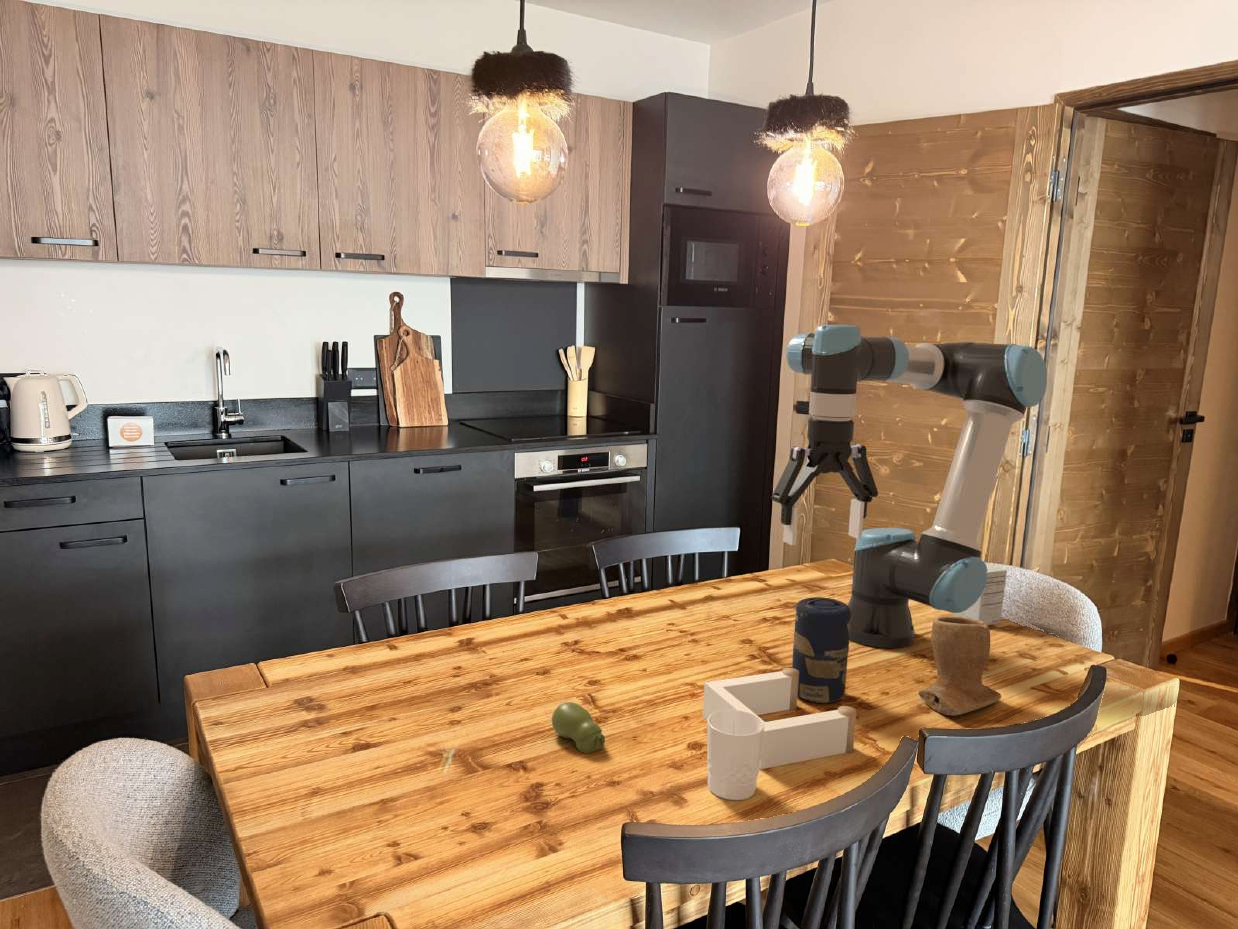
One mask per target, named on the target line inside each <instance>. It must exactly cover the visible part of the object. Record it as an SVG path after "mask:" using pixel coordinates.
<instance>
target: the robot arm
mask: <svg viewBox="0 0 1238 929" xmlns="http://www.w3.org/2000/svg"><path fill="white" fill-rule="evenodd" d="M861 332H862V331H861V328H860V327H859V326H858V325H848V324H847V325H846V324H820V325H818V326H817V327H816V329H815V330H814V332H813V333H812V332H808V333H798V334H796V335H795V336H793V337H792V338H791V339H790V341H789V343H788V344H787V348H786V356H785V358H786V361H787V365H788V367H789V368H790V369H791V370H792V371H793V372H795V373H799V374H804V375H807V376H808V375H811V377H810V378H811V379H810V380H811V381H810V392H809V407H808V413H809V415H810V416H811V417H810V418H809V419H808V420H807V434H806V435H807V436H806V438H807V439H808V445H807V447H806V448H804V447H803V448H802V447H798V446H792V447H791V448H790V455H789V459H788V461H787V464H786V466H785V467H784V470H783V472H782V474H781V476H780V478H779V480H778V482H777V485H776V486H775V489H774V491H773V493H772V495H771V501H773V502H775V503H778V504H780V505H781V512H780V524H782V525H783V533H782V534H783V536H782V541H783V543H786V544H788V545H790V546H796V543H797V533H798V532H797V531H798V530H797V529H798V515H799V514H798V513H799V507H798V506H797V505H796V506H795V504H796V503H797V502H798V501H799V499H800V498H801V497H802V495H803V494H804V493H805V491H806V490H807V489H808V488H809V486H810V485H811V483H812V482H813V481H814V479H815V478H817V477H818V476H819V475H821V474H828V473H829V474H830V473H834V474H835V473H836V474H837V473H839V474H840V476H841V478H842V479H843V481H844V482H845V484H846V485H847V488H849V490H850V491H851V492H852V493H851V494H853V496H854V497H855V498H852V499H850V506H849V507H850V510H849V523H848V524H849V525H848V536H849V537H852V538H854V539H856V543H855V548H854V549H853V552H854V557H853V567H852V568H853V570H852V585H851V596H850V599H849V601H848V604H847V606H848V607H849V608H850V610H851V623H850V638H849V641H852V642H854V643H856V644H857V643H858V644H860V645H863V646H868V647H874V648H881V649H882V648H883V649H885V648H886V649H897V648H903V647H907V646H910V645H912V644H913V642H914V639H915V628H914V625H913V618H912V614H911V610H910V605H909V600H910V601H914V602H917V603H918V604H919V603H920V604H921V605H922V604H923V605H925V606H927V607H931V608H932V609H934V610H938V611H944V612H948V613H952V614H954V613H960V612H963V611H965V610H967V609H969V608H970V607H971V606H973V605H974V604H975V603H976V601H977V600H978V599H979V597H980V596H981V594H982V592H983V590H984V588H985V585H986V582H987V576H988V575H987V574H986V572H987V566H986V564H985V563H986V562H985V561H983V559H982V558H981V555H982V554H983V553H982V552H983V549H982V547H981V546H980V544H979V542H978V537H979V534H980V530H981V528H982V525H983V521H984V518H985V514H986V511H987V508H988V505H989V502H990V498H991V496H992V493H993V488H994V486H995V482H996V480H997V475H998V473H999V469H1000V465H1001V464H1002V459H1003V457H1004V454H1005V451H1006V447H1007V444H1008V440H1009V437H1010V435H1011V431H1012V427H1013V425H1014V424H1016V423H1017V422H1019V421H1021V420H1023V419H1024V416H1025V413H1026V410H1027V408H1032V407H1036V406H1038V405H1039V404H1040V402H1041V401H1042V400H1043V398H1044V396H1045V394H1046V390H1047V385H1048V372H1047V367H1046V363H1045V359H1044V358H1043V356H1042V354H1041V353H1040V352H1039V351H1038V350H1037V349H1036V348H1034V347H1032V346H1028V345H1020V344H1016V343H1010V344H1009V343H1008V344H1007V343H1006V344H1005V343H988V342H987V343H986V342H985V343H984V342H971V341H968V342H967V341H964V342H961V341H960V342H947V343H946V342H945V343H931V342H922V343H917V344H916V345H914V346H913V345H906V344H905V343H904V342H903V341H902V340H901V339H900V338H896V337H890V336H863V335H862V334H861ZM861 335H862V336H861ZM877 381H879V382H887V383H888V382H890V383H899V384H908V385H909V386H910V387H912V388H913V389H915V390H921V391H928V392H933V393H937V394H940V395H944V396H948V397H952V398H957V399H962V403H961V404H962V406H963V408H964V409H965V411H966V417H965V419H964V423H963V427H962V430H961V432H960V436H959V438H958V439H959V440H958V442H957V446H956V447H955V448H956V449H955V452H954V455H953V457H952V458H953V459H952V462H951V465H950V468H949V470H948V475H947V477H946V481H945V484H944V488H943V491H942V493H941V497H940V500H939V504H938V506H937V510H936V513H935V516H934V520H933V523H932V526H931V527H930V528H928V529H926V530H924V531H922V532H921V534H920V537H919V541H915V540H916V538H917V536H916V533H915V532H914V531H913V530H911V529H907V528H901V527H900V528H897V527H876V528H867V529H864V530H863V526H864V525H863V524H864V520H865V519H866V517H867V512H868V511H867V510H868V503H871V502H872V501H873V498H876V497H877V496H879V491H878V488H877V485H876V481H875V479H874V477H873V473H872V470H871V468H870V465H869V462H868V459H867V447H866V445H863V444H860V443H853V444H852V445H851V442H853V439H854V428H855V422H854V420H853V419H852V418H854V417H855V416H856V403H857V389H858V388H857V387H858V382H877ZM850 457H851V459H852V462H853V465H854V468H855V471H856V474H857V475H856V474H855V472H854V468H853V467H852V465H851V463H850V462H849V458H850ZM807 459H808V460H807ZM806 460H807V461H806ZM804 461H806V462H804Z"/></svg>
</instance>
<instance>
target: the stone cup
mask: <svg viewBox="0 0 1238 929" xmlns="http://www.w3.org/2000/svg"><path fill="white" fill-rule="evenodd" d="M930 642H931V646H932V647H931V648H932V652H933V656H934V659H935V660H934V662H935V667H936V673H937V675H936V681H935V682H934V683H933V684H930V685H929V686H927V687H924V688H923V689H920V690H918V692H917V694H918V695H919V697H921V699H922V700H923V702H925V703H926V704H927V705H928V706H929V707H930V708H931V709H932V710H934V711H935V712H937V713H939V714H942V715H945V716H953V717H955V716H960V715H964V714H966V713H970V712H973V711H976V710H979V709H982V708H985V707H988V706H990V705H992V704H994V703H996V702H999V701H1000V700H1001V698H1002V694H1001V693H999V691H996V690H994V689H993V688H990V687H988V686H987V685H984V684H983V680H982V679H983V674H984V671H985V668H986V665H987V662H988V660H989V657H990V651H991V630H990V627H989V625H987V624H986V623H985V622H983V621H980V620H974V619H970V618H964V617H954V616H940V617H936V618H935V619H934V620H933V622H932V625H931V634H930Z"/></svg>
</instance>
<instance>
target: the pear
mask: <svg viewBox="0 0 1238 929" xmlns="http://www.w3.org/2000/svg"><path fill="white" fill-rule="evenodd" d="M551 725H552V728H553V730H554V731H555V733H556V734H557V735H558V736H560V737H561V738H564V739H565V738H566V739H572V740H573V741H574V742H575V747H576V748H577V750H578V751H579V752H582V753H584V754H586V755H587V754H589V753H592V752H595V751H599V750H601V749H603V747H604V746H603V745H604V744H605V742H606V736H605V735H604V734H603V733H602V732H603V730H602V728H601V726H599V725H598V724H597V723H596V722H595V721H594V719H593V717H592V714H591V713H590V712H589V711H588V710H587V709H585V707H583V706H582V705H580V704H578V703H575V702H570V701H568V702H564V703H561V704H559V705H558V706H557V707H556V708H555V709H554V711H553V713H552V716H551Z"/></svg>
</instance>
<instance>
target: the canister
mask: <svg viewBox="0 0 1238 929" xmlns="http://www.w3.org/2000/svg"><path fill="white" fill-rule="evenodd" d="M794 622H795V623H794V634H793V635H794V636H793V646H792V649H793V650H792V665H791V666H792V667H791V668H794V669H797V670H798V671H799V682H798V695H797V697H799V698H800V699H801V698H802V699H804V700H807V701H809V702H813V703H818V704H819V703H820V704H821V703H822V704H823V703H825V704H828V703H833V702H836V701H839V700H840V699H842V698H843V697H844V695H845V691H846V682H847V674H848V673H847V671H848V658H849V651H850V650H849V648H850V639H849V638H850V623H851V610H850V608H849V607H848V604H846V603H845V602H843V601H841V600H838V599H835V598H829V597H823V596H815V597H813V596H811V597H807V598H803V599H801V600H799V601H798V602H797V604H796V606H795V620H794Z"/></svg>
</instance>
